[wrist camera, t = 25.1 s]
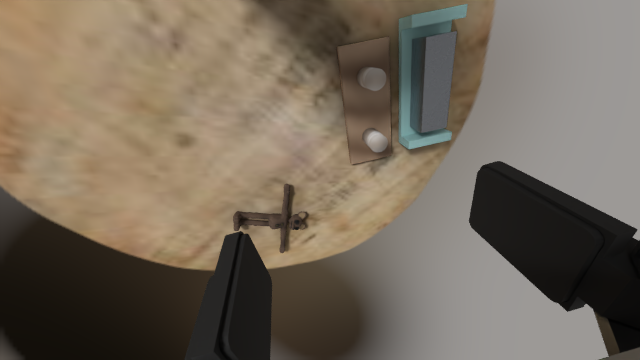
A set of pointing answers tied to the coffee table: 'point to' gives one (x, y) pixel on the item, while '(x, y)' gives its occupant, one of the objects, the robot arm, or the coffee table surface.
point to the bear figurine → (273, 219)
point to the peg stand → (366, 98)
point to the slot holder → (407, 31)
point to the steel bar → (431, 80)
